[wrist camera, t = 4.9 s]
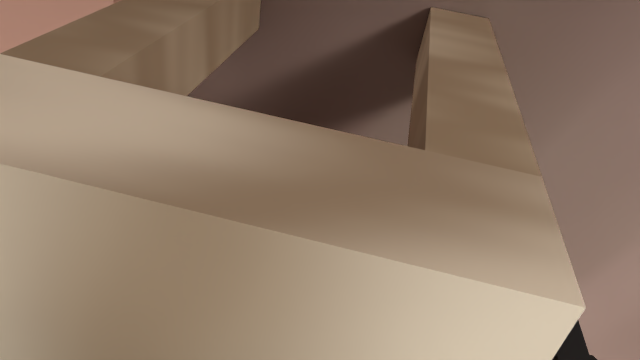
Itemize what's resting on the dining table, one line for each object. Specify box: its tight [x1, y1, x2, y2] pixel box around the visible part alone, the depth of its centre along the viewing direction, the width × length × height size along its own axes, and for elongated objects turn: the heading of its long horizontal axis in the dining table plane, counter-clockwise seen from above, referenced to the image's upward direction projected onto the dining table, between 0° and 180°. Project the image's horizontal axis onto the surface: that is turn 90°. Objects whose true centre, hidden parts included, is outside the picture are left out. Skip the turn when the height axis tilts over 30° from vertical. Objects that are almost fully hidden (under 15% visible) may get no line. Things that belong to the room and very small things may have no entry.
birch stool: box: [0, 0, 586, 360], centre depth 10 cm, size 6×9×8 cm, turn 172°
